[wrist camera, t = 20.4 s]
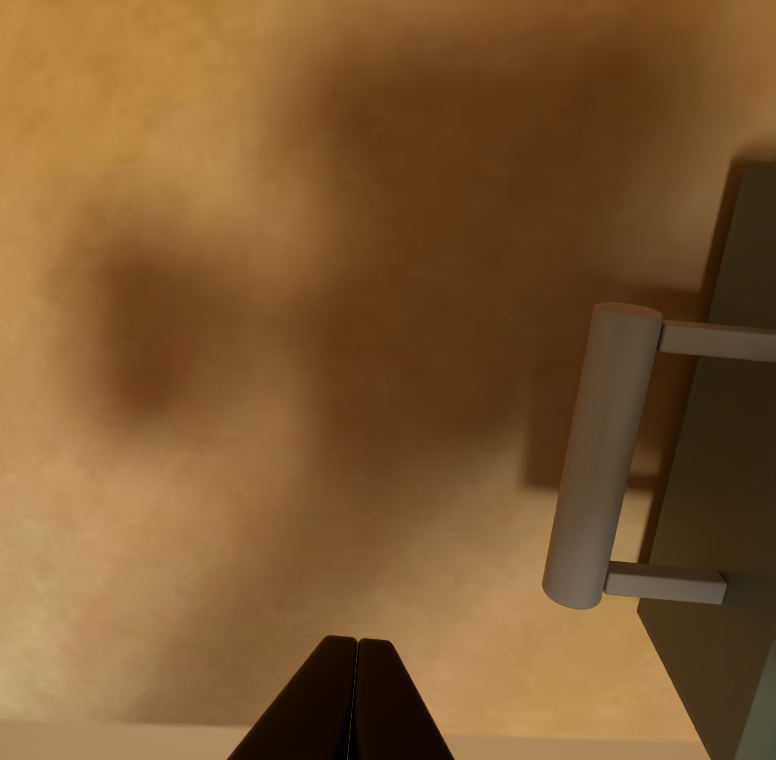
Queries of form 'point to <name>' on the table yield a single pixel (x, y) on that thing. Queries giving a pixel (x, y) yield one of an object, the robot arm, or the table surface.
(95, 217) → the table surface
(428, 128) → the table surface
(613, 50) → the table surface
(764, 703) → the drawer
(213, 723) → the table surface
